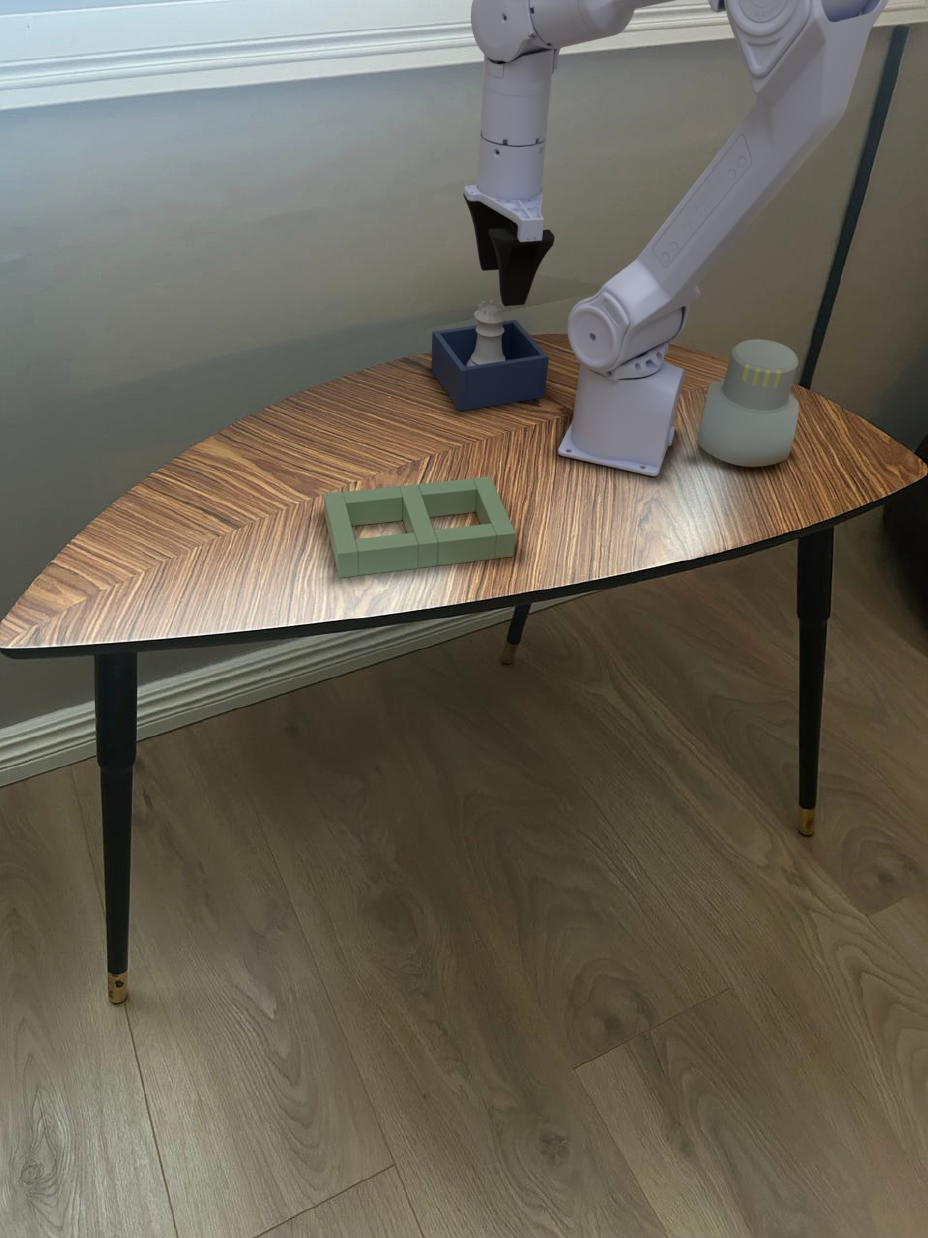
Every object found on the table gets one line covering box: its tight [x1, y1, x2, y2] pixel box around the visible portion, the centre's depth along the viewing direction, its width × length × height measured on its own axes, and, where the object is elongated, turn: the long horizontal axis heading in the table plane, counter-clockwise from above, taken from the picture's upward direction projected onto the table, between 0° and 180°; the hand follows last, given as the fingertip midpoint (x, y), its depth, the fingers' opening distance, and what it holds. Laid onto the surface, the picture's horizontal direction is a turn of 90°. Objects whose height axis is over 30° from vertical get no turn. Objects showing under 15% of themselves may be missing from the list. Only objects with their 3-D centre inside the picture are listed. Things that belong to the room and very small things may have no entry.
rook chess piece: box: [467, 299, 508, 367], centre depth 99 cm, size 4×4×8 cm
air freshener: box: [696, 338, 800, 468], centre depth 92 cm, size 11×8×10 cm
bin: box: [431, 319, 550, 412], centre depth 101 cm, size 9×8×4 cm
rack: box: [323, 476, 516, 579], centre depth 83 cm, size 14×8×2 cm, turn 104°
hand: (502, 285), depth 96 cm, fingers open, 7 cm apart
